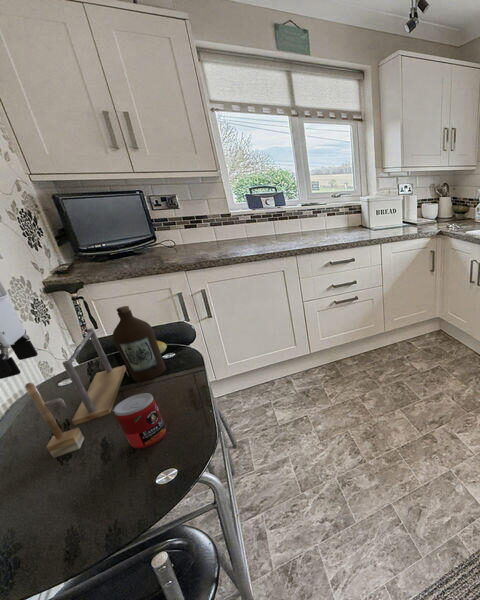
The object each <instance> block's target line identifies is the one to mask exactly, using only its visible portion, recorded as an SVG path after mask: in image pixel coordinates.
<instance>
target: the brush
mask: <svg viewBox="0 0 480 600" xmlns="http://www.w3.org/2000/svg"><path fill="white" fill-rule="evenodd" d="M24 387H25V389H26V391H27V392H28V395H29V396H30V397H31V399H32V402H33V403H34V405H35V406H36V407H37V410H38V411H39V413H40V415H41V416H42V418H43V419H44V421H45V423H46V424H47V427H48V428H49V429H50V431H51V433H52V436H51V438H50V440H49V442H48V444H47V445H46V449H47V451H48V453H50V455H51V457H52V458H53V459H55V458H58V457H60V456H63V455H66V454H70V453H72V452H75V451H77V450H80V449H81V447H82V445H83V442H84V440H85V437H84V435H83V433H82V431H81V429H80V427H75V428H73V429H72V428H71V429H70V430H67V431H64V432H63V431H62V430H61V428H60V427H59V425H58V423H57V421H56V419H55V417H54V416H53V414H52V412H51V411H50V409H49V408H48V406H49V405H52V404H55V403H56V404H57V403H59V404H60V406H61V408H62V409H67V405H66V403H65V401H64V399H63V398H61V397H58V398H54V399H51V400H48V401H45V400H44V399H43V397H42V395H41V393H40V392H39V390H38V388H37V387H36V385H35V383H34V382H27V383H26V384H25V385H24Z"/></svg>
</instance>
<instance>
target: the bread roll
mask: <svg viewBox="0 0 480 600" xmlns="http://www.w3.org/2000/svg"><path fill="white" fill-rule="evenodd" d="M157 343H158V346H159V349H160V353H161V354H163V353H164V352H166V350H167V347H168V346H167V344H166V343H165V342H163V341H160V340H157Z"/></svg>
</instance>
